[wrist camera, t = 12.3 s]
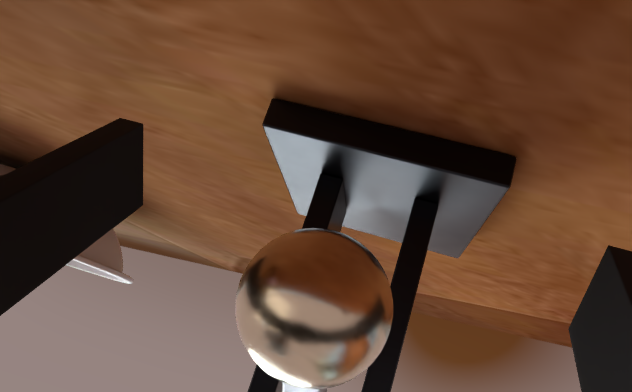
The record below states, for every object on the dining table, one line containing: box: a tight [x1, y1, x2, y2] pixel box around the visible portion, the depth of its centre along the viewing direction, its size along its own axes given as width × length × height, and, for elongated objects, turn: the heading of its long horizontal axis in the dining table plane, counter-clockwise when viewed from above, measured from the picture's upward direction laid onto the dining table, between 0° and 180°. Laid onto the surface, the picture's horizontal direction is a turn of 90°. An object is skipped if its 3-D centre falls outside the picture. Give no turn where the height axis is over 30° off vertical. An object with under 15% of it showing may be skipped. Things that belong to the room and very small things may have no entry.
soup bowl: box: [0, 164, 133, 284], centre depth 52 cm, size 24×24×7 cm
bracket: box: [248, 98, 516, 392], centre depth 23 cm, size 11×9×15 cm
